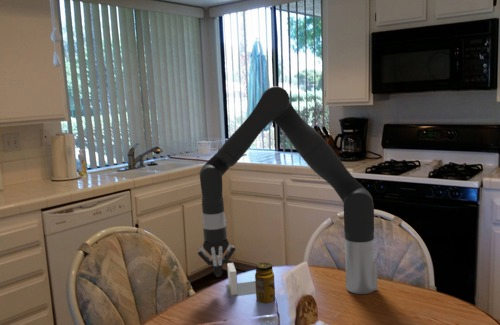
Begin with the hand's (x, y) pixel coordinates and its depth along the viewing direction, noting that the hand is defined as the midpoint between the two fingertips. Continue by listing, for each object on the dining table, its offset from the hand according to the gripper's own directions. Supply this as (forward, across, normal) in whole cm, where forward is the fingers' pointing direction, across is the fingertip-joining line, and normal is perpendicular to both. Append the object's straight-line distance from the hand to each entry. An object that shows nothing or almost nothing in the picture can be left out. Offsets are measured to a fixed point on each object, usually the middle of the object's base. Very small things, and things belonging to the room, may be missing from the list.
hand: (218, 275), depth 154 cm
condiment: (+7, -13, +10) cm, 18 cm away
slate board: (+6, -9, 0) cm, 11 cm away
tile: (+6, -5, 0) cm, 7 cm away
